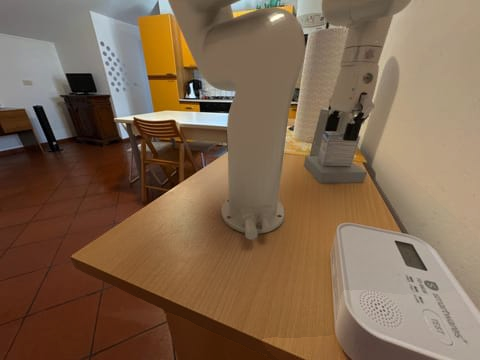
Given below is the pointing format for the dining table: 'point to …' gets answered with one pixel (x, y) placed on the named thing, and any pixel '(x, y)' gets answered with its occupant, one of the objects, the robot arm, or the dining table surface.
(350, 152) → the medicine box
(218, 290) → the dining table surface
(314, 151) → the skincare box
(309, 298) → the dining table surface
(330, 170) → the grey base
